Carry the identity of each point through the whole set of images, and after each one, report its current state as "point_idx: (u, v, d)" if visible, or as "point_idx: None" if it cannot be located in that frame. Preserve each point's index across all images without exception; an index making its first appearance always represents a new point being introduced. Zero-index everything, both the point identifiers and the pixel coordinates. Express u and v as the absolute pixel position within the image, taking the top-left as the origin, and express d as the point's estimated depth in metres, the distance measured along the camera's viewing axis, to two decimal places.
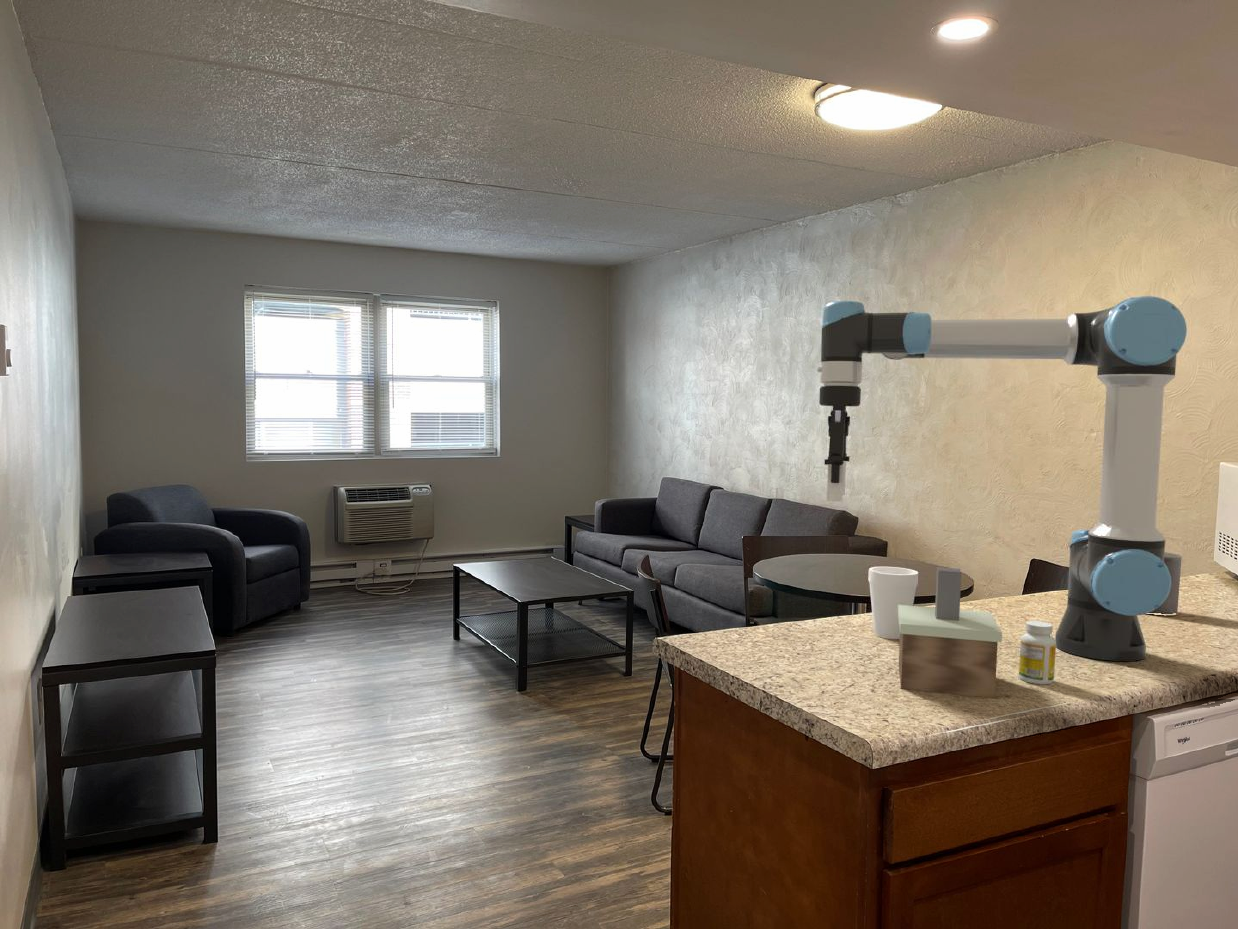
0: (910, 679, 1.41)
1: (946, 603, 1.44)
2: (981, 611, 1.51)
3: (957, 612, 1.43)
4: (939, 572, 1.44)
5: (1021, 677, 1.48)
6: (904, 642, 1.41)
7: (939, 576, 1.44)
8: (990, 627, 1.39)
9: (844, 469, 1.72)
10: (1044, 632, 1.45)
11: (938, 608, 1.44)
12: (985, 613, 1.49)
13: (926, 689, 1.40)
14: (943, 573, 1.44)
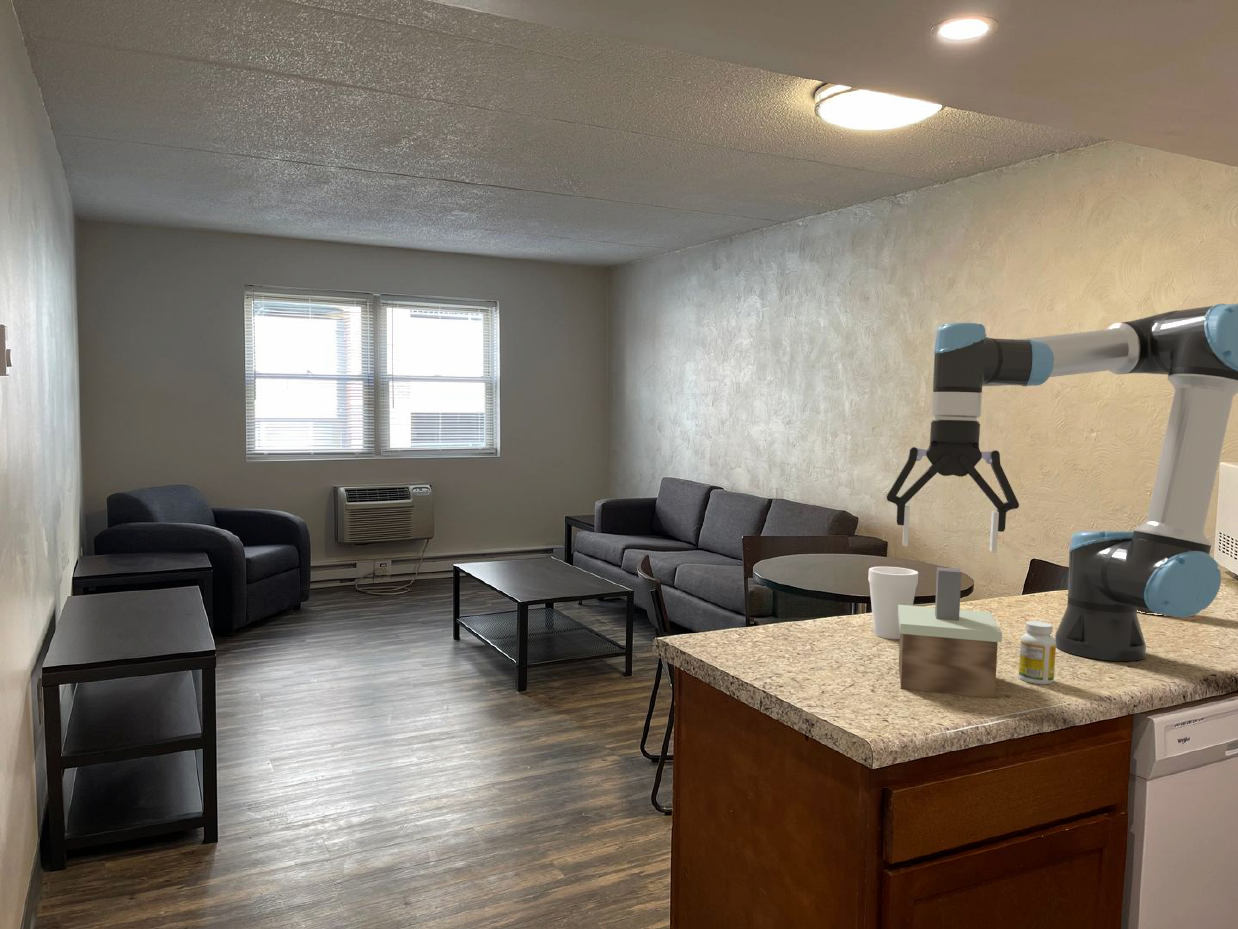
0: (910, 679, 1.41)
1: (946, 603, 1.44)
2: (981, 611, 1.51)
3: (957, 612, 1.43)
4: (939, 572, 1.44)
5: (1021, 677, 1.48)
6: (904, 642, 1.41)
7: (939, 576, 1.44)
8: (990, 627, 1.39)
9: (993, 521, 1.42)
10: (1044, 632, 1.45)
11: (938, 608, 1.44)
12: (985, 613, 1.49)
13: (926, 689, 1.40)
14: (943, 573, 1.44)
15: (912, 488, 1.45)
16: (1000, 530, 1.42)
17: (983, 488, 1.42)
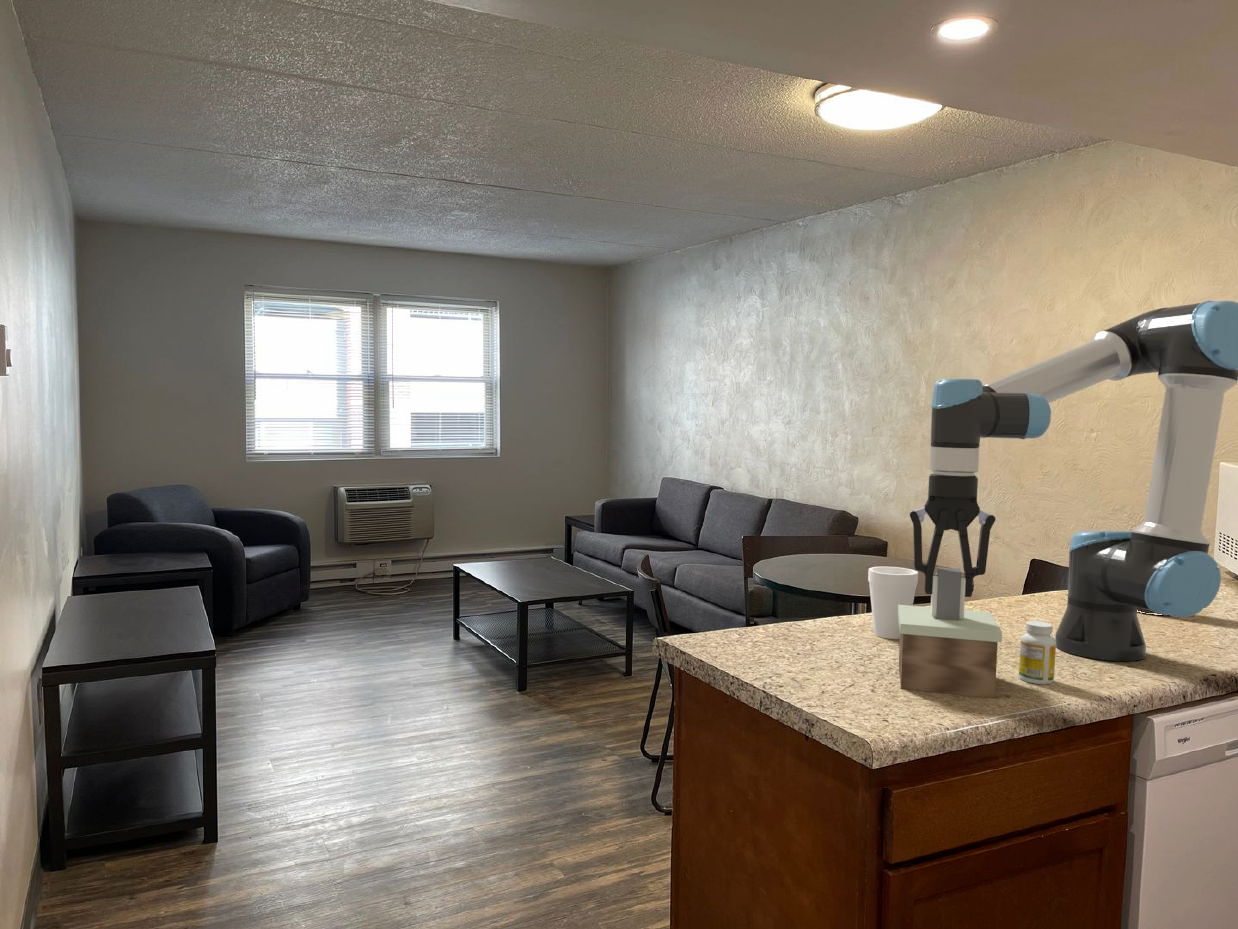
0: (910, 679, 1.41)
1: (946, 603, 1.44)
2: (981, 611, 1.51)
3: (957, 612, 1.43)
4: (939, 572, 1.44)
5: (1021, 677, 1.48)
6: (904, 642, 1.41)
7: (939, 576, 1.44)
8: (990, 627, 1.39)
9: None
10: (1044, 632, 1.45)
11: (938, 608, 1.44)
12: (985, 613, 1.49)
13: (926, 689, 1.40)
14: (943, 573, 1.44)
15: (931, 554, 1.45)
16: (967, 595, 1.44)
17: (963, 548, 1.43)
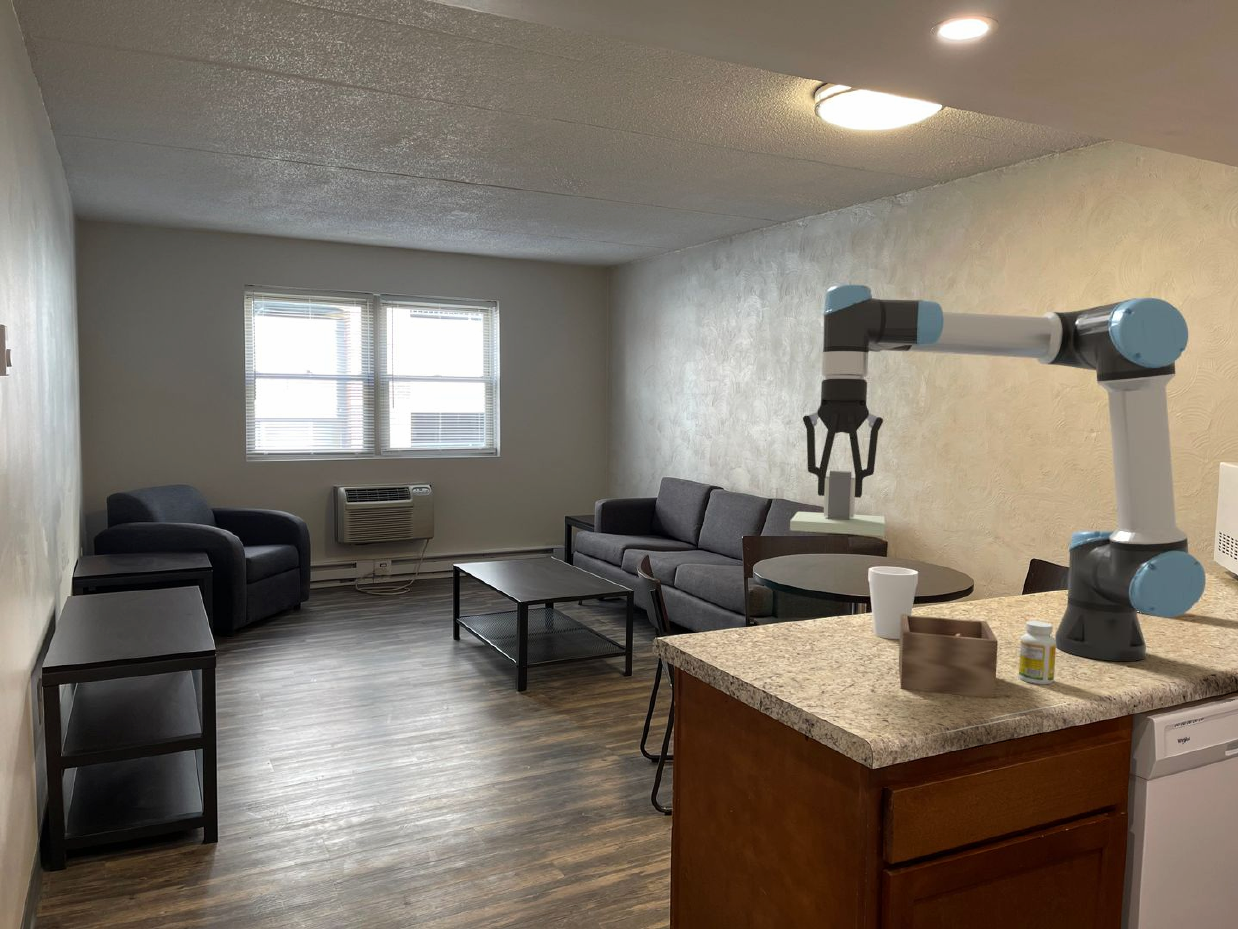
0: (910, 679, 1.41)
1: (837, 503, 1.49)
2: None
3: (847, 512, 1.48)
4: (830, 473, 1.49)
5: (1021, 677, 1.48)
6: (904, 642, 1.41)
7: (830, 477, 1.49)
8: (876, 523, 1.44)
9: (850, 487, 1.49)
10: (1044, 632, 1.45)
11: (829, 508, 1.49)
12: None
13: (926, 689, 1.40)
14: (834, 474, 1.49)
15: (823, 456, 1.50)
16: (857, 496, 1.49)
17: (853, 450, 1.48)
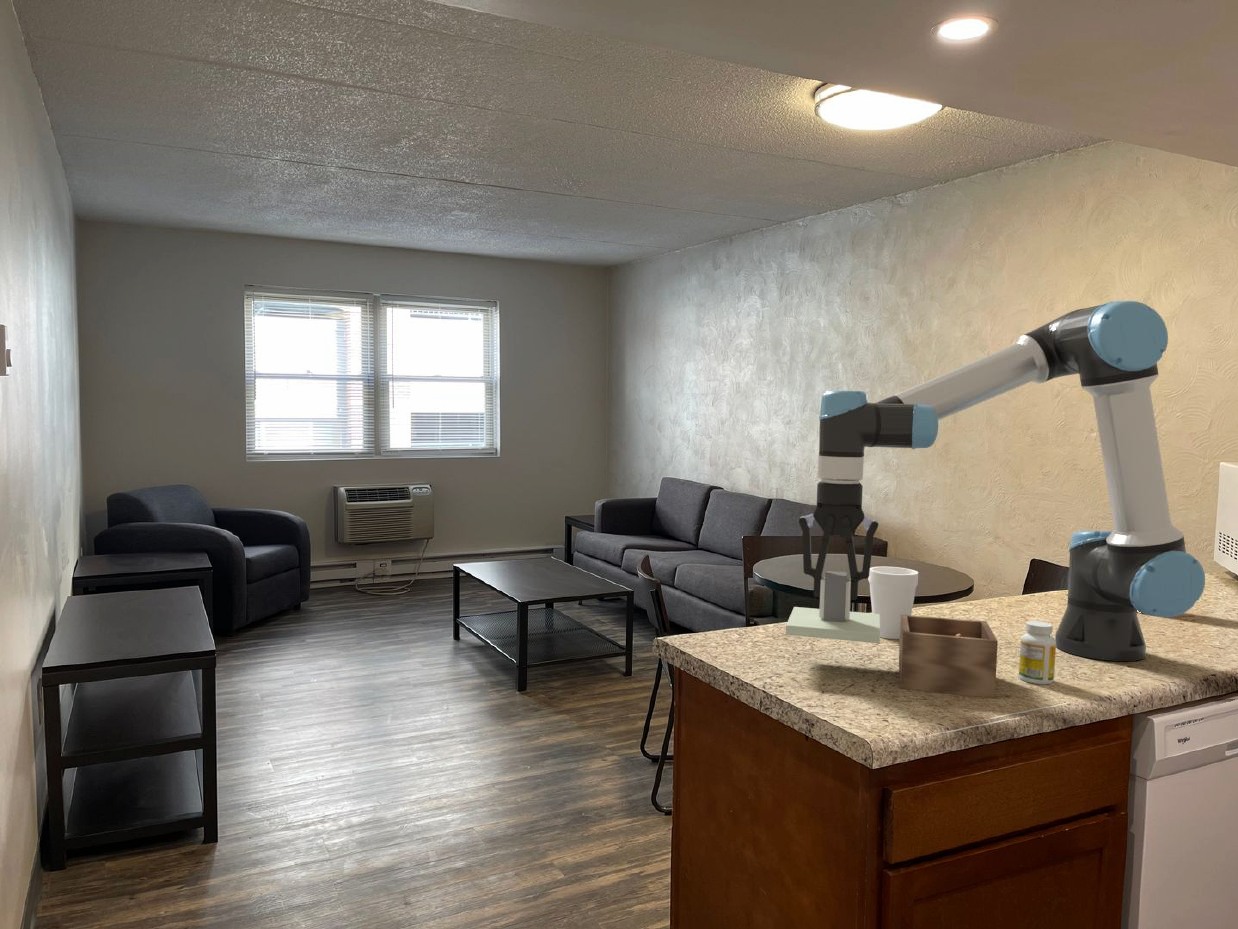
0: (910, 679, 1.41)
1: (832, 606, 1.50)
2: (871, 613, 1.57)
3: (843, 614, 1.50)
4: (826, 576, 1.50)
5: (1021, 677, 1.48)
6: (904, 642, 1.41)
7: (826, 580, 1.50)
8: (871, 629, 1.45)
9: None
10: (1044, 632, 1.45)
11: (825, 610, 1.50)
12: (874, 615, 1.55)
13: (926, 689, 1.40)
14: (829, 577, 1.50)
15: (819, 558, 1.51)
16: (853, 598, 1.50)
17: (848, 553, 1.49)
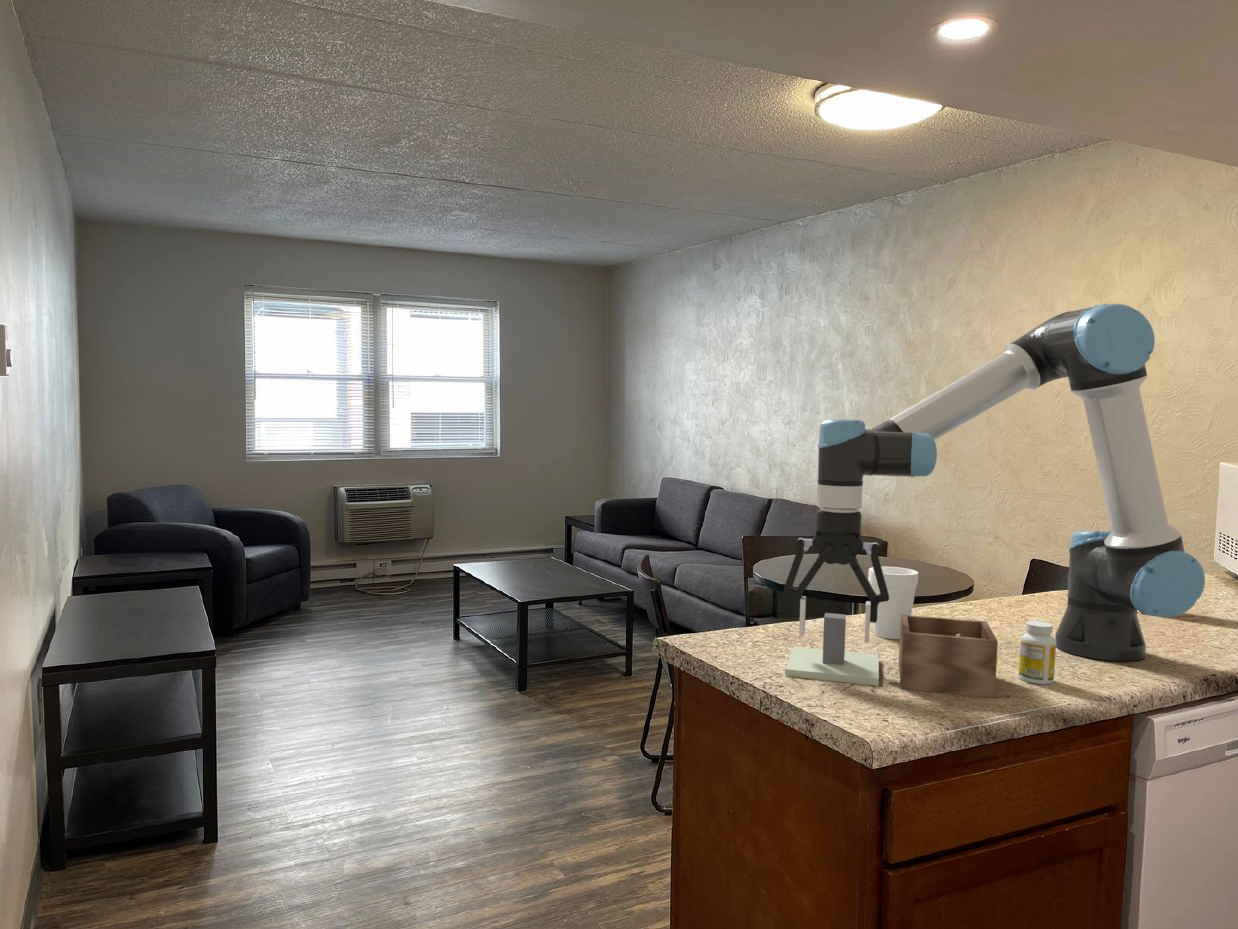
0: (910, 679, 1.41)
1: (831, 649, 1.50)
2: (870, 654, 1.57)
3: (842, 657, 1.50)
4: (825, 619, 1.50)
5: (1021, 677, 1.48)
6: (904, 642, 1.41)
7: (825, 622, 1.50)
8: (870, 673, 1.46)
9: None
10: (1044, 632, 1.45)
11: (824, 653, 1.51)
12: (873, 656, 1.56)
13: (926, 689, 1.40)
14: (828, 620, 1.50)
15: (804, 580, 1.52)
16: (872, 621, 1.49)
17: (859, 579, 1.49)
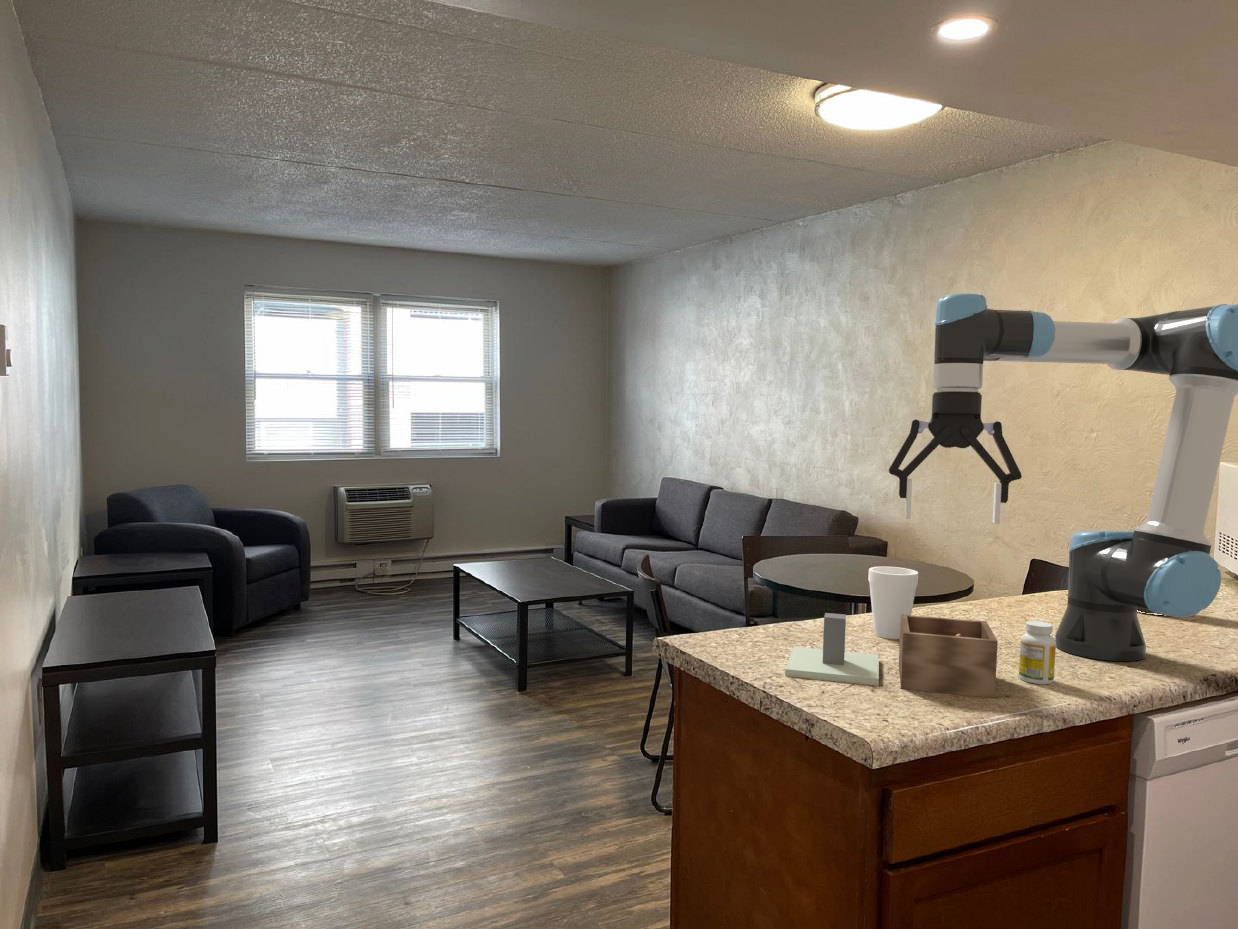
0: (910, 679, 1.41)
1: (831, 649, 1.50)
2: (870, 654, 1.57)
3: (842, 657, 1.50)
4: (825, 619, 1.50)
5: (1021, 677, 1.48)
6: (904, 642, 1.41)
7: (825, 622, 1.50)
8: (870, 673, 1.46)
9: (995, 492, 1.42)
10: (1044, 632, 1.45)
11: (824, 653, 1.51)
12: (873, 656, 1.56)
13: (926, 689, 1.40)
14: (828, 620, 1.50)
15: (914, 461, 1.45)
16: (1003, 501, 1.42)
17: (985, 459, 1.42)
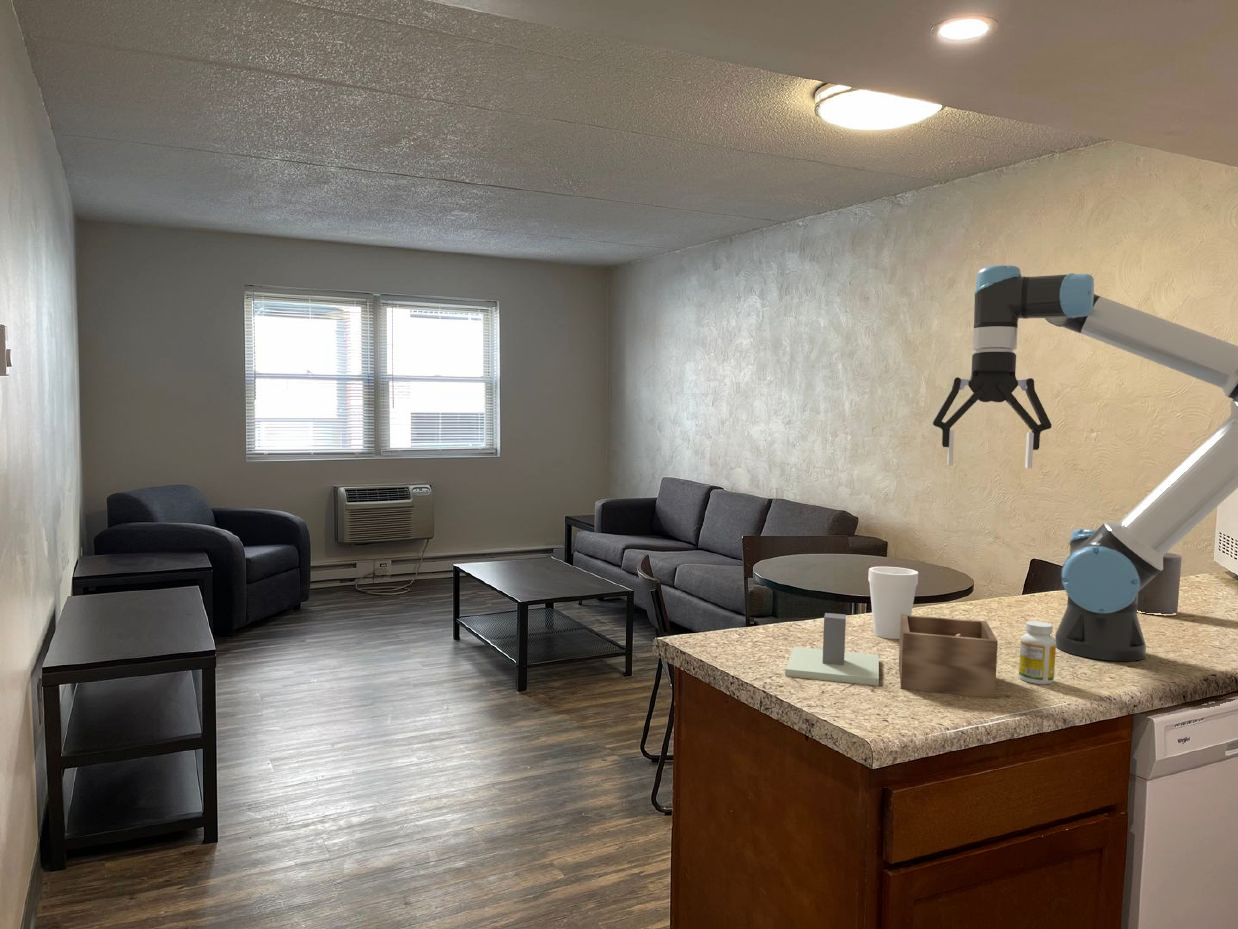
0: (910, 679, 1.41)
1: (831, 649, 1.50)
2: (870, 654, 1.57)
3: (841, 657, 1.50)
4: (825, 619, 1.50)
5: (1021, 677, 1.48)
6: (904, 642, 1.41)
7: (825, 622, 1.50)
8: (870, 673, 1.46)
9: (1028, 440, 1.61)
10: (1044, 632, 1.45)
11: (824, 653, 1.51)
12: (873, 656, 1.56)
13: (926, 689, 1.40)
14: (828, 620, 1.50)
15: (956, 413, 1.64)
16: (1035, 448, 1.61)
17: (1019, 412, 1.61)
